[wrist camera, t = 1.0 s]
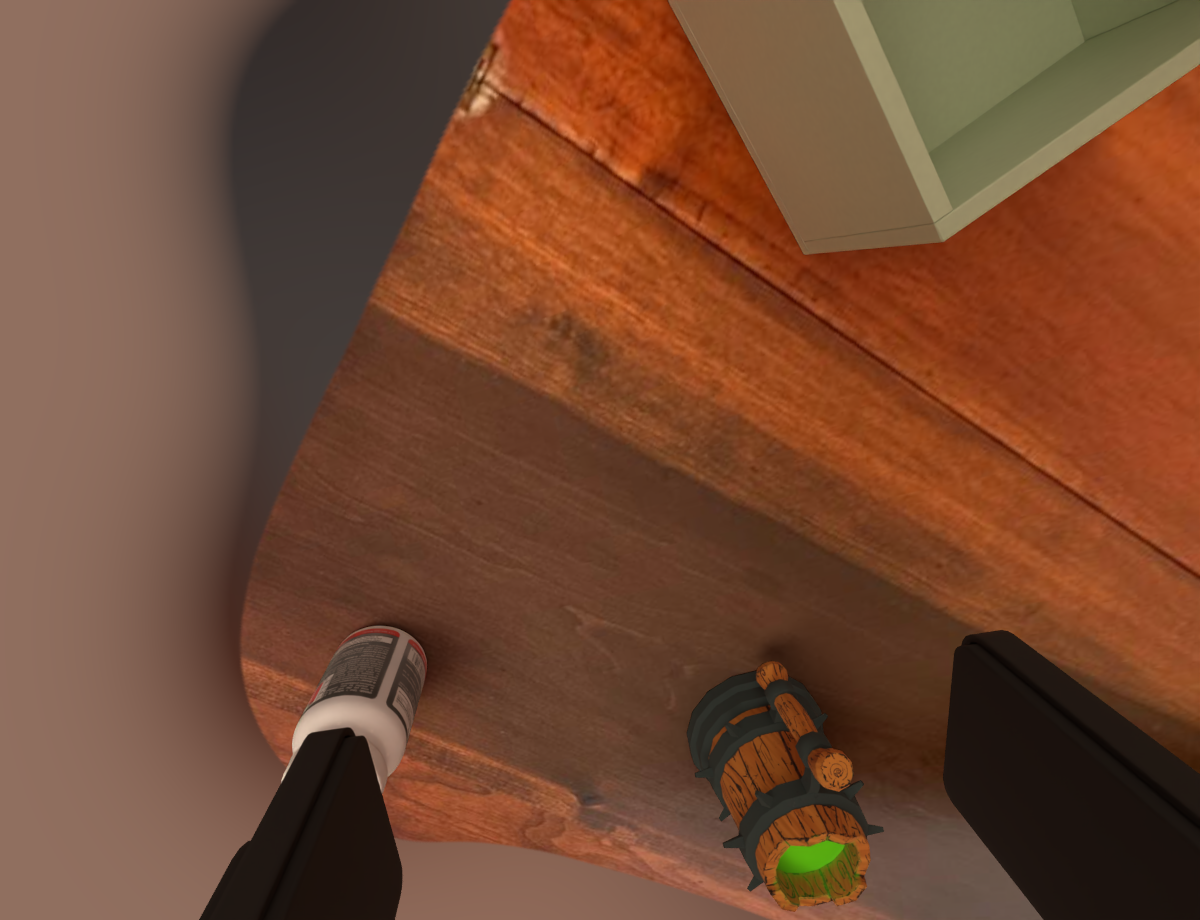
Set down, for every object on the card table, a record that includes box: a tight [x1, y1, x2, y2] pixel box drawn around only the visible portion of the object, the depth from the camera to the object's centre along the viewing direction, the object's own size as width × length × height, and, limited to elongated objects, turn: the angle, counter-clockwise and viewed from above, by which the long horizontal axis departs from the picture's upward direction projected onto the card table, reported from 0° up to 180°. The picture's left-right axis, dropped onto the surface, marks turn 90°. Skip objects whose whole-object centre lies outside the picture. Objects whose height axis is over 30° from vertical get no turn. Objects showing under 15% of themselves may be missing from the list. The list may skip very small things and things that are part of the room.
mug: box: [687, 661, 884, 912], centre depth 36 cm, size 13×10×12 cm
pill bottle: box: [281, 626, 427, 793], centre depth 33 cm, size 6×6×10 cm
